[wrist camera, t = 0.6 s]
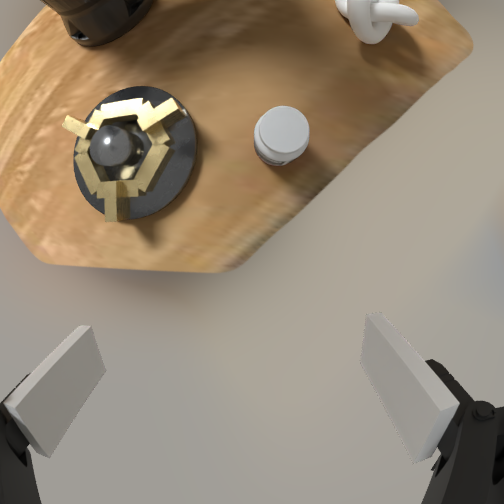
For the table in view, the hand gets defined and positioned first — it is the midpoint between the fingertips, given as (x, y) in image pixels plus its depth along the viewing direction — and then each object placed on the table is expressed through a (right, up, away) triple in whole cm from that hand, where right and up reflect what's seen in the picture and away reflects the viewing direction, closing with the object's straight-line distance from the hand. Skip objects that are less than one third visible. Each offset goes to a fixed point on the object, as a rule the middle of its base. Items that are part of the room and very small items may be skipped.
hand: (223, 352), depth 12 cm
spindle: (-15, +18, +22) cm, 32 cm away
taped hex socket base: (-15, +16, +20) cm, 30 cm away
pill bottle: (+4, +18, +22) cm, 29 cm away
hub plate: (-15, +18, +22) cm, 32 cm away
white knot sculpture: (+18, +40, +17) cm, 47 cm away
